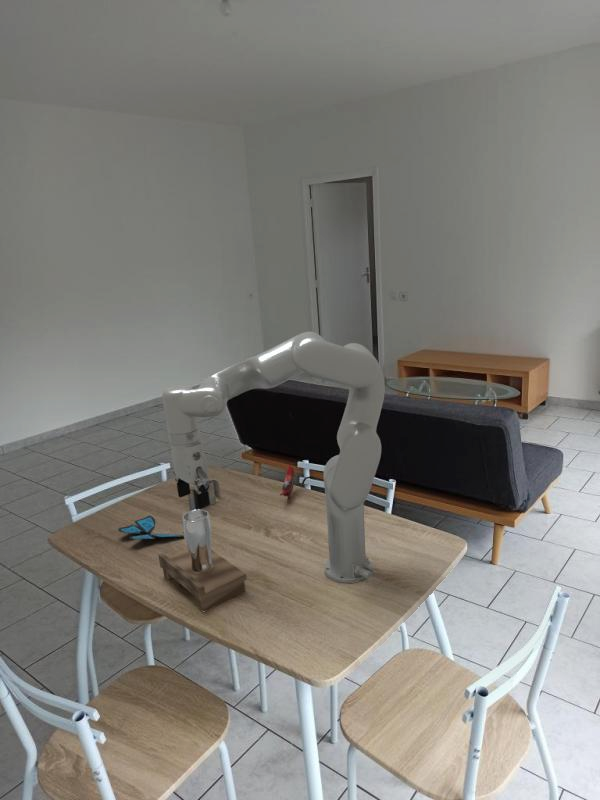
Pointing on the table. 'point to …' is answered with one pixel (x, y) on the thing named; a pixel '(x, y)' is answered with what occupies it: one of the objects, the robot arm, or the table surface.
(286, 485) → the decorative bird figurine
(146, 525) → the decorative butterfly
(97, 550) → the table surface
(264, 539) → the table surface
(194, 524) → the beer glass
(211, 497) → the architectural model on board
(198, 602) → the display ledge
